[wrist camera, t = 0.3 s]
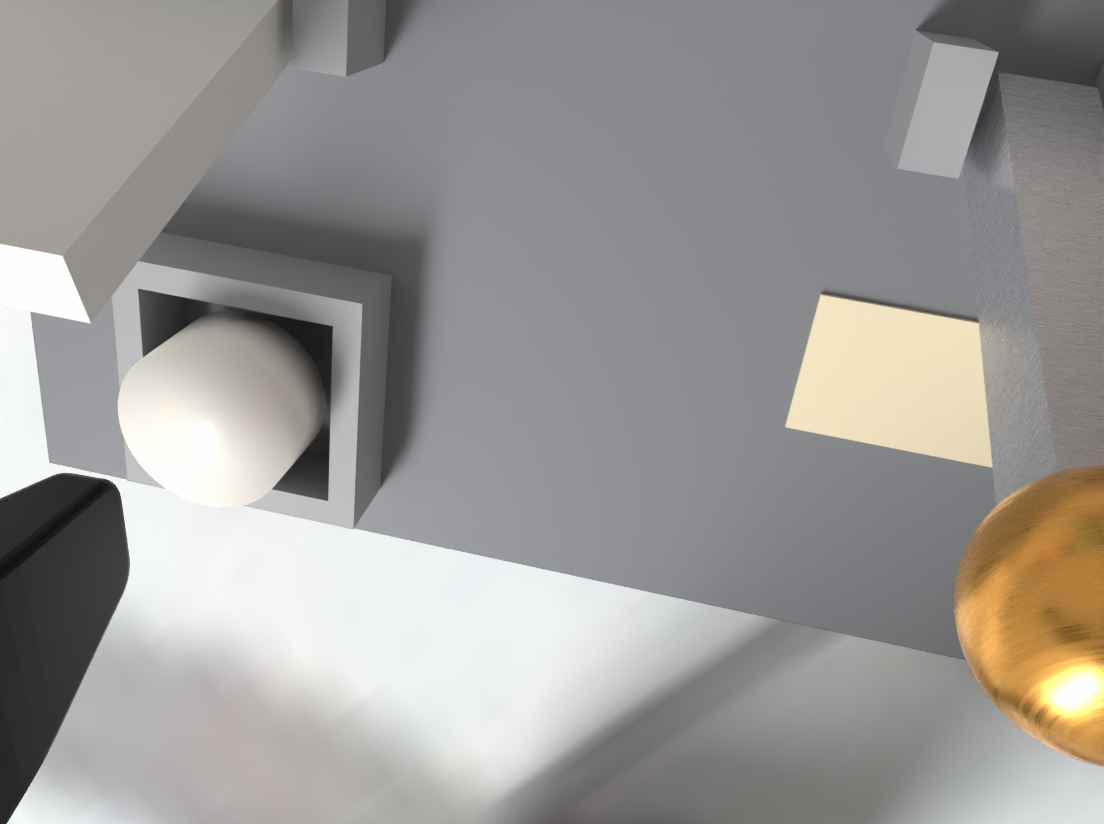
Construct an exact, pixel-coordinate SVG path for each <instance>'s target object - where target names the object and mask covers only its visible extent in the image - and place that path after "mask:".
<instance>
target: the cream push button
mask: <svg viewBox="0 0 1104 824" xmlns="http://www.w3.org/2000/svg"><path fill="white" fill-rule="evenodd" d="M325 409H326V396H325V390H324V385H323V381H322V378H321V375H320V373H319V371H318V369H317V366H316V364H315V363H314V361H313V359H312V358H311V356H310V355H309V353H308V352H307V351H306V349H305V348H304V347H303V346H302V345H301V344H300V343H299V342H298V341H297V339H296V338H294V337H293V336H292V335H291V334H290V333H289V332H287V331H286V330H285V329H283V328H282V327H280V326H279V325H277V324H275V323H273V322H271V321H270V320H268V319H265V318H263V317H260V316H258V315H254V314H251V313H247V312H240V311H220V312H214V313H211V314H207V315H205V316H203V317H200V318H198V319H196V320H195V321H194V322H192V323H191V324H189V325H188V326H186V327H185V328H184V329H182V330H181V331H179V332H178V333H177V334H175V335H174V336H172V337H171V338H170V339H168V340H167V341H165V342H164V343H163V344H161V345H160V346H158V347H157V348H156V349H154V350H153V351H151V352H150V353H149V354H147V355H146V356H144V357H143V358H142V359H140V360H139V361H138V362H137V363H136V364H134V365H133V366H132V367H131V369H130V370H129V372H128V373H127V374H126V376H125V378H124V380H123V382H122V385H121V388H120V391H119V397H118V417H119V423H120V427H121V430H122V434H123V436H124V439H125V441H126V443H127V445H128V447H129V449H130V451H131V453H132V454H133V456H134V457H135V459H136V460H137V461H138V463H139V464H140V465H141V466H142V468H143V469H144V470H145V471H146V472H147V473H148V474H149V475H150V476H151V477H152V478H153V479H154V480H155V481H156V482H158V483H159V484H160V485H162V486H163V487H164V488H166V489H167V490H169V491H170V492H172V493H174V494H175V495H177V496H179V497H181V498H183V499H186V500H188V501H191V502H193V503H196V504H200V505H204V506H209V507H215V508H231V507H239V506H243V505H247V504H250V503H252V502H255V501H257V500H258V499H260V498H262V497H263V496H265V495H266V494H267V493H268V492H269V491H270V490H271V489H272V488H273V487H274V486H275V485H276V484H277V483H278V481H279V480H280V479H281V478H282V477H283V475H284V474H285V473H286V472H287V471H288V470H289V468H290V467H291V466H292V465H293V464H294V463H295V461H296V460H297V459H298V458H299V457H300V455H301V454H302V453H303V452H304V451H305V450H306V448H307V447H308V446H309V445H310V444H311V443H312V441H313V440H314V439H315V437H316V436H317V434H318V433H319V431H320V429H321V426H322V424H323V420H324V416H325Z"/></svg>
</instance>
